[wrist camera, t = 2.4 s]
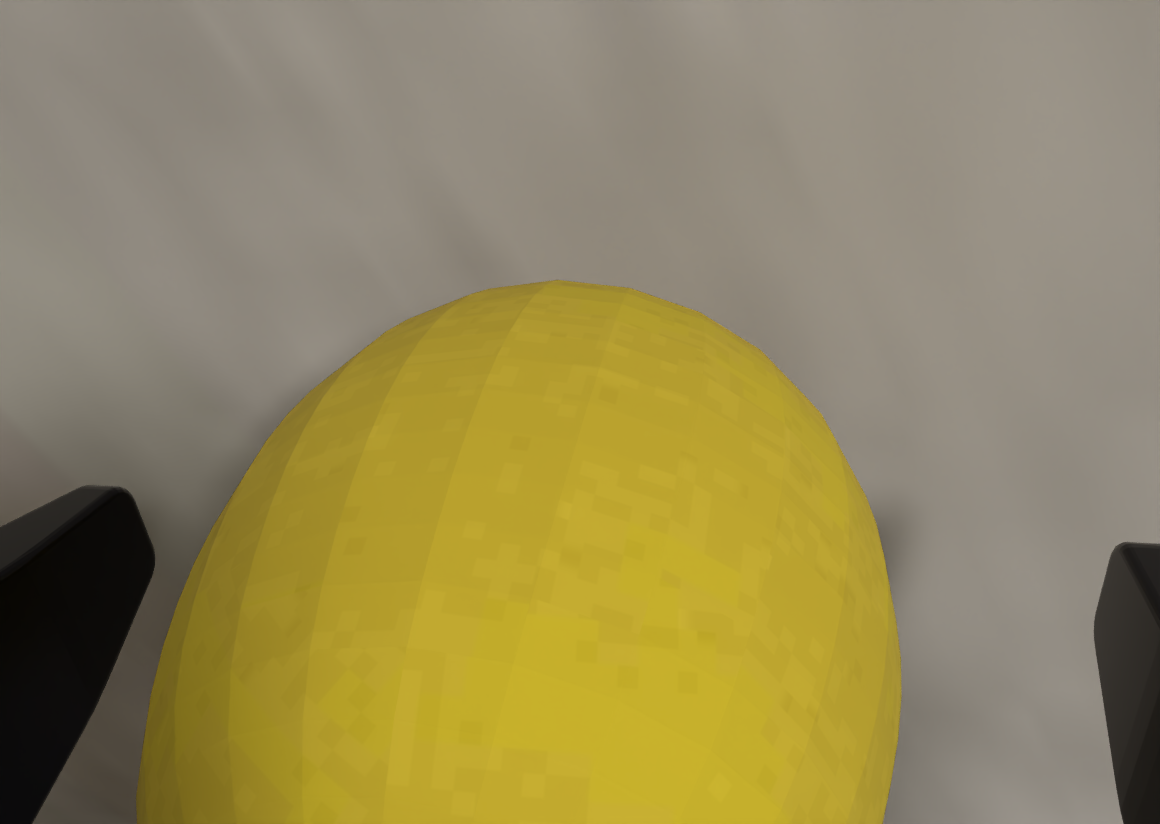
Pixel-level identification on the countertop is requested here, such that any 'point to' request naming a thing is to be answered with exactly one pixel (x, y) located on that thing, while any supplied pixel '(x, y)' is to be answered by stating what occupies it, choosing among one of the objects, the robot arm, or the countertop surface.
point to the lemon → (536, 590)
